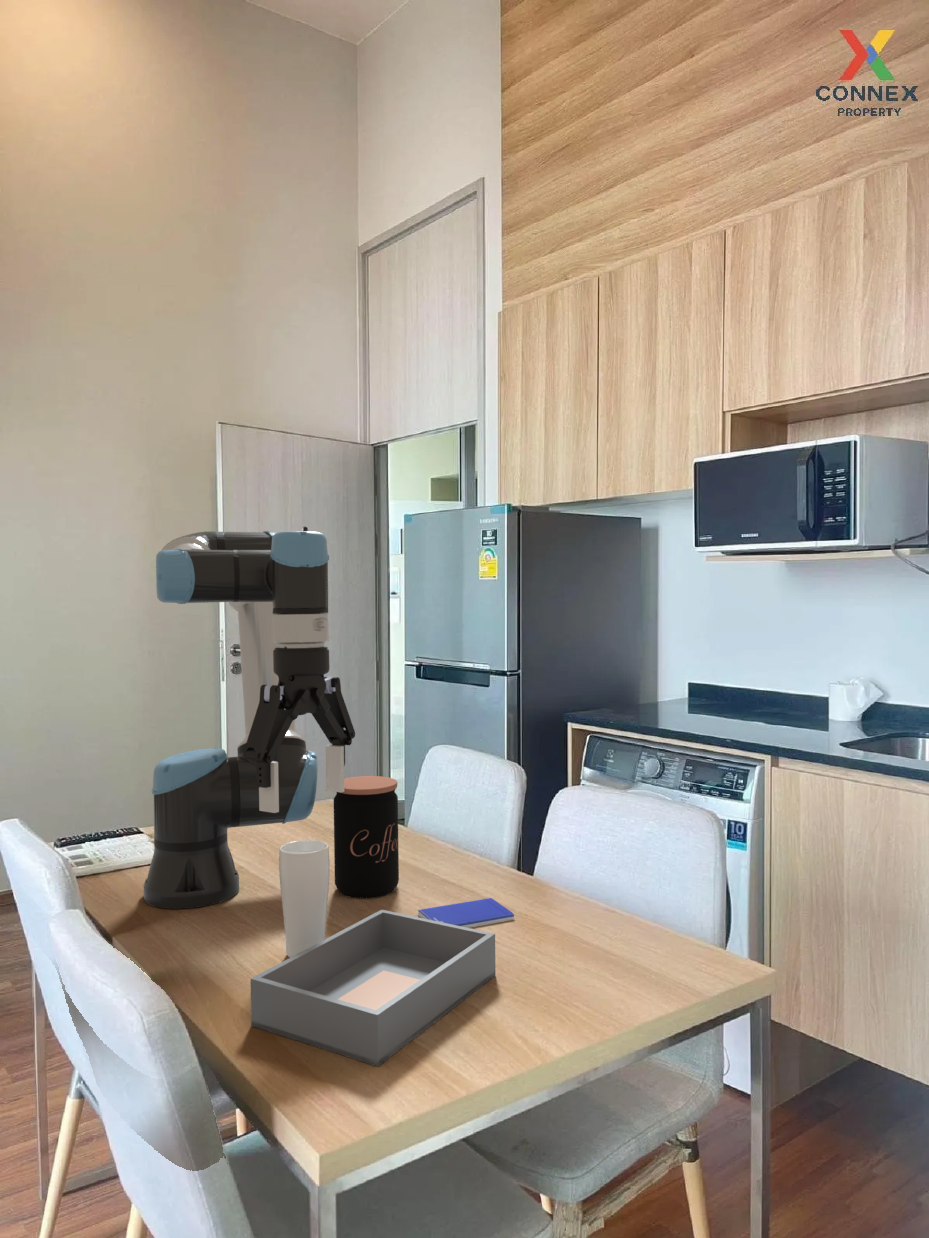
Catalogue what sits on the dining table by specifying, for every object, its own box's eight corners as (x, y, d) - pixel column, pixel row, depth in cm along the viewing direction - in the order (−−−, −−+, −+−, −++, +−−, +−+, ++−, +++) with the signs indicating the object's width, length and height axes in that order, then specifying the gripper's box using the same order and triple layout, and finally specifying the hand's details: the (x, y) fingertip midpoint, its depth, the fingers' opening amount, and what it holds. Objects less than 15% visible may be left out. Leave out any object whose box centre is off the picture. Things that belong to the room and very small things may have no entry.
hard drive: (438, 926, 131) (514, 913, 136) (417, 908, 139) (490, 896, 144) (438, 937, 131) (514, 923, 136) (418, 918, 139) (490, 906, 144)
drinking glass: (283, 945, 127) (281, 840, 127) (332, 943, 128) (330, 838, 127) (277, 965, 120) (275, 854, 120) (329, 963, 121) (327, 852, 120)
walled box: (251, 1025, 104) (250, 978, 104) (382, 948, 126) (381, 909, 126) (378, 1066, 95) (377, 1014, 94) (495, 975, 117) (495, 933, 116)
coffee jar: (347, 904, 144) (346, 792, 143) (326, 885, 153) (324, 779, 153) (409, 893, 149) (407, 784, 148) (384, 875, 158) (383, 773, 158)
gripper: (256, 651, 110) (259, 824, 110) (377, 641, 131) (380, 786, 132) (212, 650, 114) (215, 817, 114) (337, 640, 135) (339, 781, 136)
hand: (303, 800), depth 123 cm, fingers open, 13 cm apart
